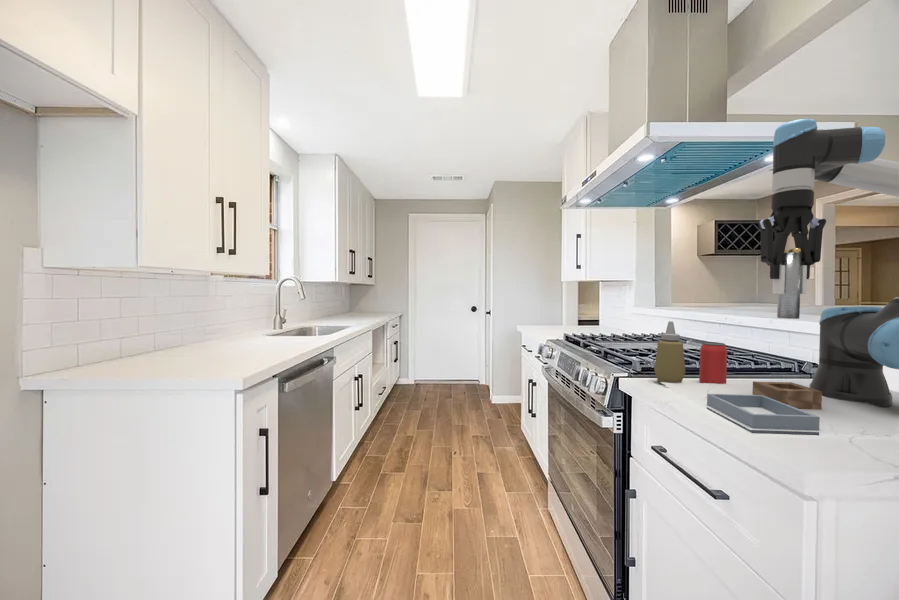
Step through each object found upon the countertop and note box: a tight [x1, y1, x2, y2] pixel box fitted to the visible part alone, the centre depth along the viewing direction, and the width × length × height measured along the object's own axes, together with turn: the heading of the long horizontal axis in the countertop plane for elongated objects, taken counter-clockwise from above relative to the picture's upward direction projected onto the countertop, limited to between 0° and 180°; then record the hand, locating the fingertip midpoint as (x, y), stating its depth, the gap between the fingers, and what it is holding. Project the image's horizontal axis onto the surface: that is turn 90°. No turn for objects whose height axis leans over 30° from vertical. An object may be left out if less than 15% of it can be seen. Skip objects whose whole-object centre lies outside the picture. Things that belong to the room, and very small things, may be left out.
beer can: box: [698, 341, 728, 385], centre depth 120 cm, size 7×7×12 cm
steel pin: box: [776, 247, 802, 320], centre depth 97 cm, size 4×6×16 cm
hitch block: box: [751, 381, 823, 411], centre depth 97 cm, size 9×9×5 cm
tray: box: [706, 393, 821, 436], centre depth 87 cm, size 12×16×4 cm
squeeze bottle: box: [653, 321, 686, 384], centre depth 121 cm, size 8×8×18 cm
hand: (788, 293), depth 96 cm, fingers closed on steel pin, 4 cm apart
